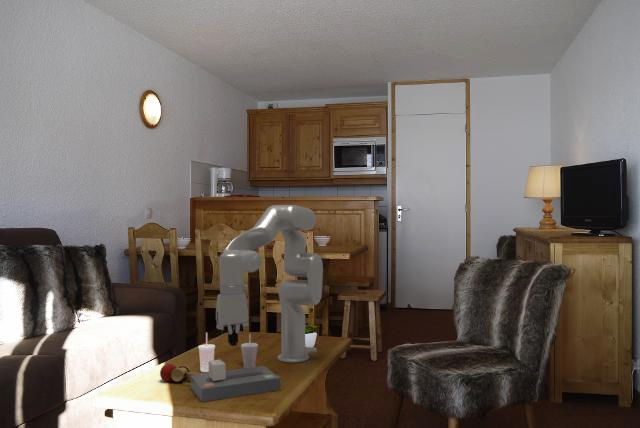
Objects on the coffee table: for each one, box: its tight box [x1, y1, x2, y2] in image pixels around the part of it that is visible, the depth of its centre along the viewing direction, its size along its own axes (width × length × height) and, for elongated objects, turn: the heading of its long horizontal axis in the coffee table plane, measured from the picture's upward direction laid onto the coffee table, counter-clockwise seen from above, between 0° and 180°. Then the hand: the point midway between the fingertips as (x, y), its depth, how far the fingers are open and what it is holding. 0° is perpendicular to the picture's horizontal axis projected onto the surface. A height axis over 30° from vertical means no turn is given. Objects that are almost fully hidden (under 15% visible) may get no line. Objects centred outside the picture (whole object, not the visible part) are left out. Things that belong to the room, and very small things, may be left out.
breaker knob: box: [208, 358, 226, 381], centre depth 178 cm, size 4×6×5 cm, turn 26°
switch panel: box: [189, 365, 281, 403], centre depth 182 cm, size 26×19×4 cm
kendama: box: [159, 363, 207, 383], centre depth 189 cm, size 8×6×18 cm
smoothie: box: [240, 332, 259, 369], centre depth 202 cm, size 6×6×14 cm
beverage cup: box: [198, 332, 216, 373], centre depth 203 cm, size 6×6×14 cm
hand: (233, 344), depth 181 cm, fingers closed
